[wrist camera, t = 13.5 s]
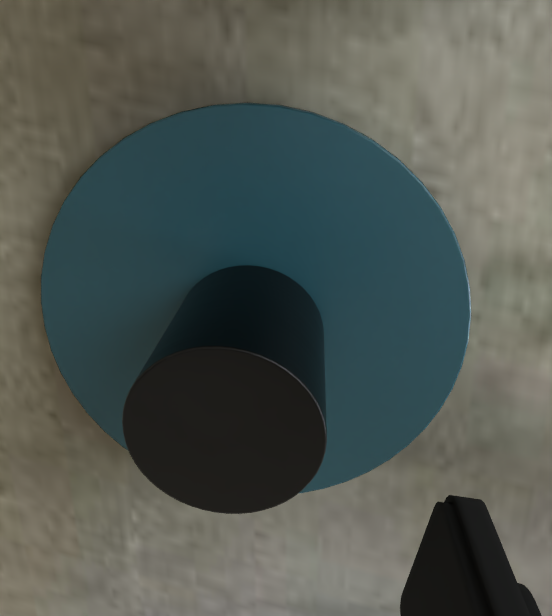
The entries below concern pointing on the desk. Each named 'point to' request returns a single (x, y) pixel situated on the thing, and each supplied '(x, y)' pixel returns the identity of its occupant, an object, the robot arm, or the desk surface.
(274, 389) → the lid
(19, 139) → the desk surface
